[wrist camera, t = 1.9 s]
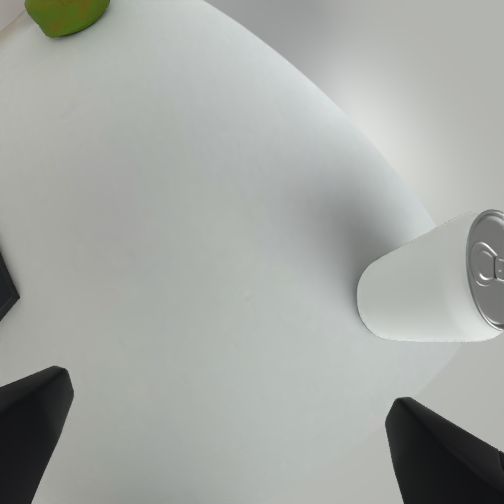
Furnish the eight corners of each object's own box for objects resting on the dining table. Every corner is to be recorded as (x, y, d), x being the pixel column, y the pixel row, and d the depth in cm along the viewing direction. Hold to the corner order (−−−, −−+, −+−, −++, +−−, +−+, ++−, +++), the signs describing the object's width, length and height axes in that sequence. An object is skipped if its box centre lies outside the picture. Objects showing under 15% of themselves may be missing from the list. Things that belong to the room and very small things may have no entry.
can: (359, 249, 22) (456, 182, 11) (426, 265, 22) (533, 220, 11) (347, 334, 21) (454, 336, 9) (418, 343, 21) (535, 343, 9)
